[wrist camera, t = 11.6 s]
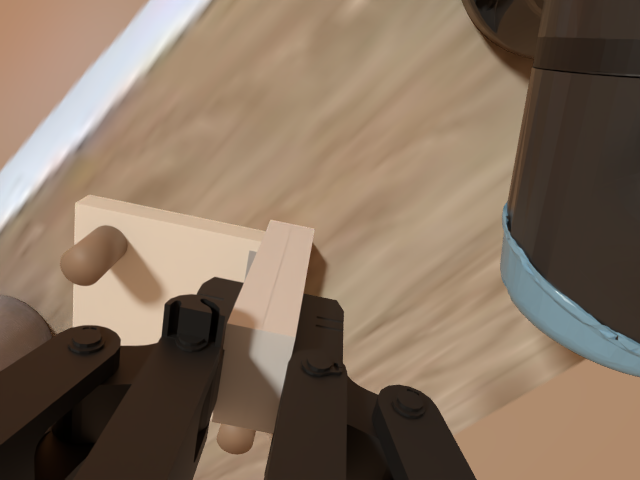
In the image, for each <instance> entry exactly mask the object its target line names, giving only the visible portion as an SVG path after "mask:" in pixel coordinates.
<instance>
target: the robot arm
mask: <svg viewBox="0 0 640 480" xmlns="http://www.w3.org/2000/svg"><path fill="white" fill-rule="evenodd" d="M462 2H463V5H464V7H465V9H466V11H467V13H468V15H469V16H470V18H471V19H472V21H473V22H474V24H475V25H476V26H477V28H478V29H479V30H480V31H481V32H482V33H483V34H484V35H485V36H486V37H487V38H488V39H490V40H491V41H492V42H493V43H495V44H496V45H498V46H499V47H501V48H503V49H505V50H507V51H509V52H511V53H514V54H517V55H520V56H524V57H529V58H534V63H533V66H532V70H531V75H530V81H529V86H528V92H527V97H526V103H525V108H524V114H523V119H522V125H521V130H520V136H519V142H518V147H517V153H516V158H515V164H514V169H513V175H512V180H511V186H510V191H509V197H508V201H507V203H506V204H505V206H504V208H503V214H502V225H503V229H504V237H503V245H502V254H501V263H500V270H501V277H502V281H503V283H504V284H505V286H506V288H507V290H508V294H509V295H510V298H511V300H512V301H513V303H514V304H515V306H516V307H517V308H518V309H519V311H520V312H521V313H522V314H523V315H524V316H525V317H526V318H527V319H528V320H529V321H530V322H531V323H532V324H533V325H534V326H536V327H537V328H538V329H539V330H541V331H542V332H543V333H544V334H546V335H547V336H548V337H550V338H551V339H553V340H554V341H556V342H557V343H559V344H561V345H562V346H564V347H566V348H567V349H569V350H571V351H573V352H575V353H576V354H578V355H580V356H582V357H584V358H586V359H588V360H591V361H593V362H595V363H598V364H600V365H602V366H605V367H608V368H611V369H613V370H616V371H619V372H622V373H626V374H629V375H633V376H637V377H640V0H462ZM314 230H315V229H313V228H309V227H304V226H299V225H294V224H290V223H285V222H280V221H275V220H270V222H269V225H268V227H267V229H266V232H265V234H264V237H263V239H262V241H261V244H260V246H259V248H258V251H257V253H256V256H255V258H254V260H253V263H252V265H251V267H250V270H249V272H248V274H247V277H246V279H245V282H244V283H243V282H238V281H233V280H228V279H223V278H218V277H213V278H211V279H210V280H208V281H206V282H204V283H203V284H202V285H201V287H200V289H199V290H198V292H197V295H195V294H188V295H179V296H177V297H174V298H171V299H170V300H168V301H167V302H166V303H165V305H164V315H163V325H162V336H161V338H160V339H159V341H158V342H157V343H154V344H149V345H139V346H120V345H121V339H120V337H119V336H118V334H117V333H116V332H114V331H113V330H111V329H109V328H106V327H102V326H97V325H82V326H77V327H72V328H69V329H67V330H65V331H63V332H61V333H59V334H57V335H56V336H54V337H53V338H51V339H50V340H48V341H47V342H45V343H43V344H42V345H40V346H39V347H37V348H36V349H34V350H33V351H31V352H30V353H28V354H26V355H25V356H23V357H22V358H20V359H19V360H17V361H16V362H14V363H13V364H11V365H9V366H8V367H6V368H5V369H3V370H2V371H0V480H193V477H194V474H195V471H196V468H197V465H198V462H199V460H200V457H201V454H202V451H203V448H204V445H205V442H206V439H207V434H208V427H209V421H210V418H211V416H212V413H213V417H212V422H216V423H221V424H226V425H232V426H237V427H242V428H247V429H252V430H257V431H262V432H267V433H272V434H273V437H272V442H271V447H270V451H269V456H268V461H267V465H266V470H265V474H264V476H265V477H264V480H477V479H476V478H475V476H474V474H473V472H472V470H471V468H470V467H469V465H468V463H467V461H466V459H465V458H464V456H463V454H462V452H461V451H460V448H459V446H458V445H457V443H456V441H455V439H454V437H453V435H452V433H451V432H450V430H449V428H448V426H447V424H446V422H445V421H444V419H443V417H442V415H441V413H440V411H439V410H438V408H437V406H436V405H435V404H434V402H433V401H432V400H431V399H430V398H429V397H428V396H426V395H425V394H424V393H422V392H421V391H418V390H416V389H414V388H411V387H408V386H402V385H392V386H387V387H385V388H384V389H382V390H381V391H380V393H379V395H377V394H375V393H373V392H370V391H368V390H366V389H364V388H362V387H360V386H358V385H357V384H356V383H355V382H353V381H352V380H351V379H350V378H349V377H348V376H347V370H346V367H345V365H344V364H343V321H344V311H343V309H342V308H341V306H340V305H339V303H338V302H337V300H332V299H327V298H322V297H317V296H312V295H308V294H303V292H304V287H305V281H306V275H307V270H308V264H309V258H310V253H311V247H312V242H313V236H314Z"/></svg>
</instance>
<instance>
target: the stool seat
mask: <svg viewBox="0 0 640 480" xmlns="http://www.w3.org/2000/svg"><path fill="white" fill-rule="evenodd" d="M265 232H266V231H262V230H257V229H253V228H248V227H243V226H238V225H234V224H229V223H224V222H219V221H214V220H210V219H205V218H200V217H195V216H190V215H186V214H181V213H176V212H171V211H166V210H162V209H157V208H152V207H147V206H142V205H138V204H133V203H128V202H123V201H118V200H114V199H109V198H104V197H99V196H94V195H90V194H89V195H88V196H86V197H84V198H83V199H81V200H79V201H78V202H76V203H75V239H74V246H73V247H71V248H70V249H69V250H68V251H66V252H65V253H64V254H63V255H62V257H61V261H60V266H61V270H62V272H63V274H64V275H65V277H66V278H67V279H68V280H70V281H71V282H72V283H74V291H73V327H77V326H82V325H97V326H102V327H106V328H109V329H111V330H113V331H114V332H116V333H117V334H118V336H119V337H120V339H121V345H120V346H139V345H149V344H154V343H157V342H158V341H159V339H160V338H161V336H162V325H163V315H164V305H165V303H166V302H167V301H168V300H170V299H171V298H174V297H177V296H179V295H188V294H195V295H197V292H198V290H199V289H200V287H201V285H202V284H203V283H204V282H206V281H208V280H210V279H211V278H213V277H218V278H223V279H228V280H233V281H238V282H243V283H244V282H245V279H246V277H247V274H248V272H249V270H250V267H251V265H252V263H253V260H254V258H255V256H256V253H257V251H258V248H259V246H260V244H261V241H262V239H263V237H264V234H265ZM212 417H213V413H212V416H211V418H210V420H212ZM255 432H256V430H252V429H247V428H242V427H237V426H232V425H226V424H221V426H220V429H219V432H218V435H217V442H218V444H219V446H220V447H221V448H222V449H223V450H224V451H226V452H228V453H231V454H243V453H246V452H247V451H249V450H250V449H251V447H252V445H253V441H254V436H255Z"/></svg>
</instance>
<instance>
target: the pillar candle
mask: <svg viewBox="0 0 640 480" xmlns="http://www.w3.org/2000/svg"><path fill="white" fill-rule="evenodd" d="M51 338H52V336H51V333H50V330H49V328H48V326H47V324H46V323H45V321H44V320H43V319H42V317H41V316H40V315H39V314H38V313H37V312H36V311H35V310H34V309H32V308H31V307H30V306H29V305H27V304H26V303H24V302H21V301H20V300H18V299H16V298H13V297H9V296H0V371H2V370H3V369H5V368H6V367H8V366H9V365H11V364H13V363H14V362H16V361H17V360H19V359H20V358H22V357H23V356H25V355H26V354H28V353H30V352H31V351H33V350H34V349H36V348H37V347H39V346H40V345H42V344H43V343H45V342H47V341H48V340H50V339H51Z"/></svg>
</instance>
